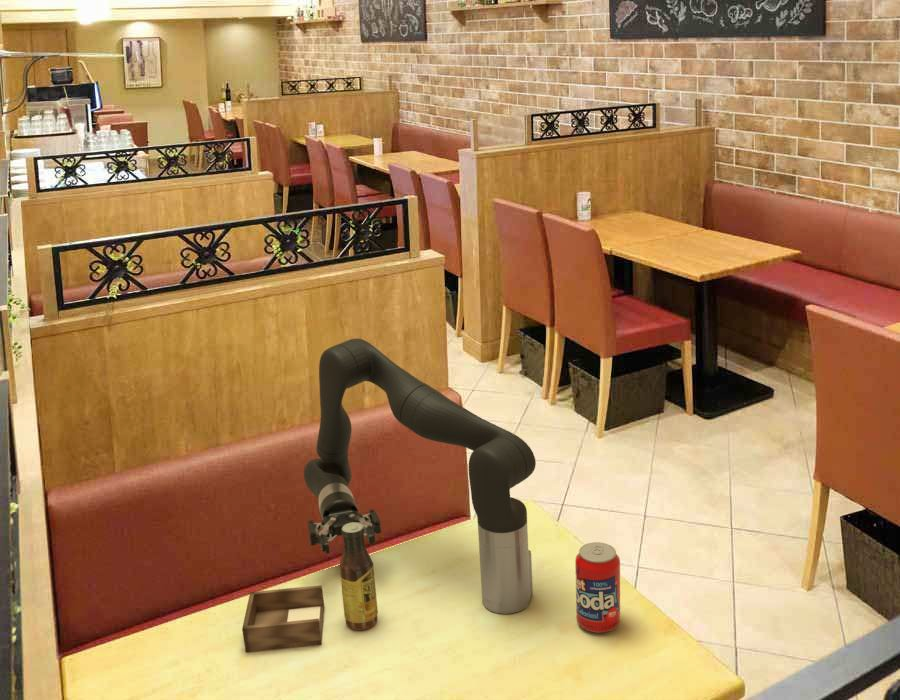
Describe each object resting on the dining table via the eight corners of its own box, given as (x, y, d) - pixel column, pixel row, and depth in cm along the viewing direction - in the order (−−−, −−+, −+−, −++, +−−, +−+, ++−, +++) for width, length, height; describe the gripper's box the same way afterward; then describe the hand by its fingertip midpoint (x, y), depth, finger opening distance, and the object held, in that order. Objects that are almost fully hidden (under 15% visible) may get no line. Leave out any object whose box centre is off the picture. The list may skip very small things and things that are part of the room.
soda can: (623, 613, 170) (623, 542, 165) (616, 639, 163) (616, 565, 158) (581, 607, 173) (579, 537, 168) (572, 632, 166) (571, 560, 161)
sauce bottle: (373, 633, 169) (363, 538, 163) (341, 631, 170) (329, 536, 164) (382, 612, 175) (373, 519, 169) (351, 610, 176) (341, 518, 170)
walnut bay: (324, 607, 178) (321, 585, 176) (321, 644, 167) (318, 621, 165) (253, 614, 177) (250, 592, 175) (245, 652, 166) (242, 628, 165)
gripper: (301, 497, 190) (310, 534, 175) (369, 485, 193) (383, 521, 178) (305, 529, 193) (314, 569, 178) (372, 516, 196) (387, 555, 181)
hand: (349, 545), depth 178 cm, fingers open, 8 cm apart
